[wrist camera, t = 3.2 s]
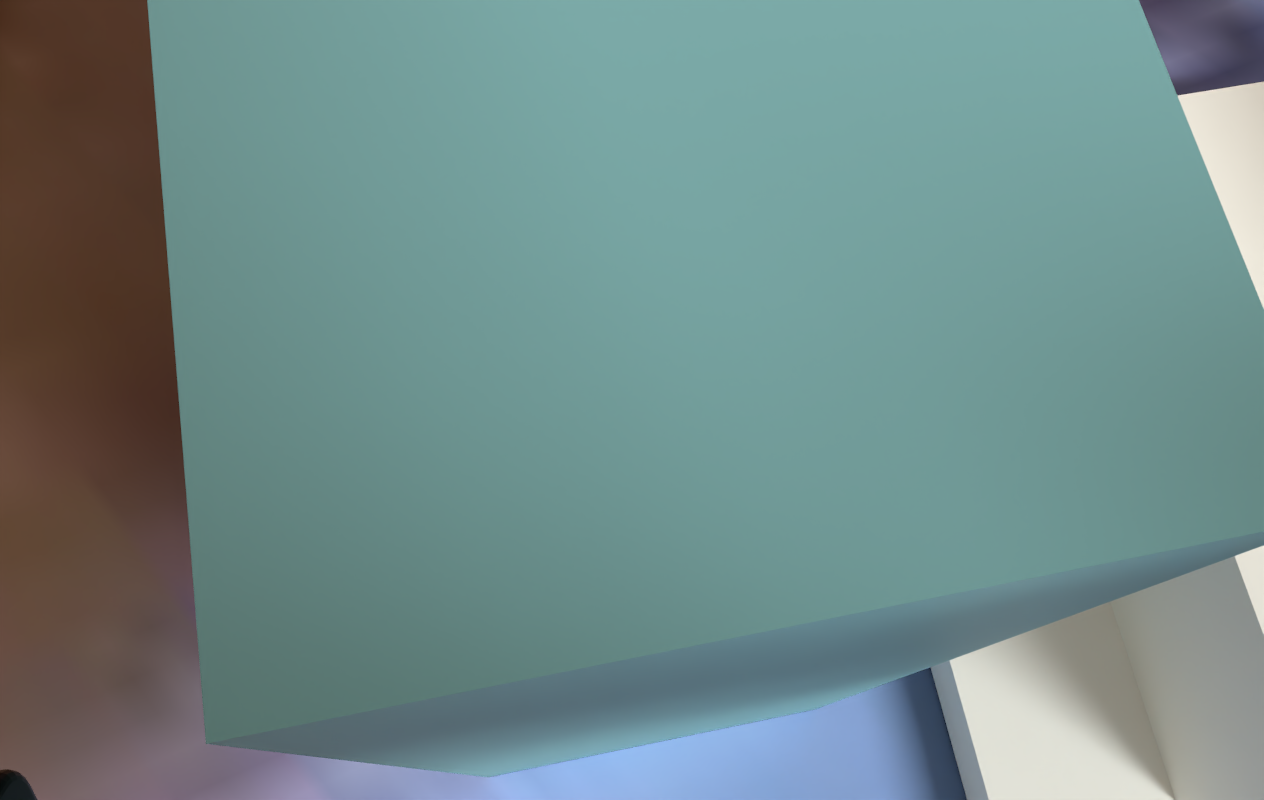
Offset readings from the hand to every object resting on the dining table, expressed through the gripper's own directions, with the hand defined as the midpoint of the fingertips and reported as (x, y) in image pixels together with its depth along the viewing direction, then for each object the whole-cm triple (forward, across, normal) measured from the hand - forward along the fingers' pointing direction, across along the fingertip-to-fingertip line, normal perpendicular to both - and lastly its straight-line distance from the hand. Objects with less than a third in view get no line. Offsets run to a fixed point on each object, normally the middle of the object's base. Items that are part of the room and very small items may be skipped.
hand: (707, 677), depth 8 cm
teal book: (+9, 0, +5) cm, 10 cm away
